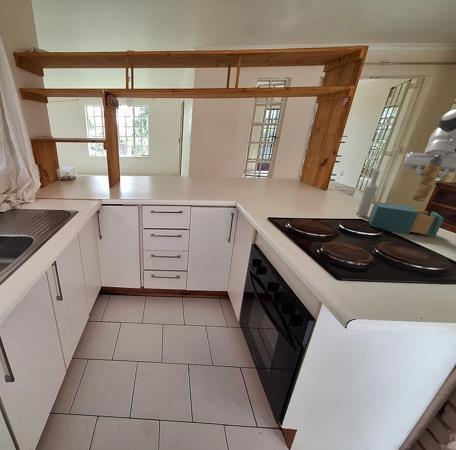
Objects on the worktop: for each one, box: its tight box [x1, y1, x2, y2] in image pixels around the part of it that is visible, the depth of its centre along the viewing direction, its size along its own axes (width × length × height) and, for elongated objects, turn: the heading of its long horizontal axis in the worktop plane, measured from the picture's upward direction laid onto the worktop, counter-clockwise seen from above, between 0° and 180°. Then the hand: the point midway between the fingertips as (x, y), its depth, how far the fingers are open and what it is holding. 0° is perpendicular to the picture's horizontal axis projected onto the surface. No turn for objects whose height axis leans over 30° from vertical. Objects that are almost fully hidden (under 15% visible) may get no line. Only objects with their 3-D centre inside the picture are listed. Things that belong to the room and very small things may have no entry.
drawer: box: [409, 209, 445, 238], centre depth 110 cm, size 14×12×9 cm
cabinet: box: [367, 201, 418, 235], centre depth 115 cm, size 14×14×11 cm
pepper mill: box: [411, 155, 443, 202], centre depth 108 cm, size 5×5×21 cm
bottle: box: [355, 170, 381, 217], centre depth 130 cm, size 5×5×25 cm
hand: (429, 176), depth 107 cm, fingers closed on pepper mill, 5 cm apart
